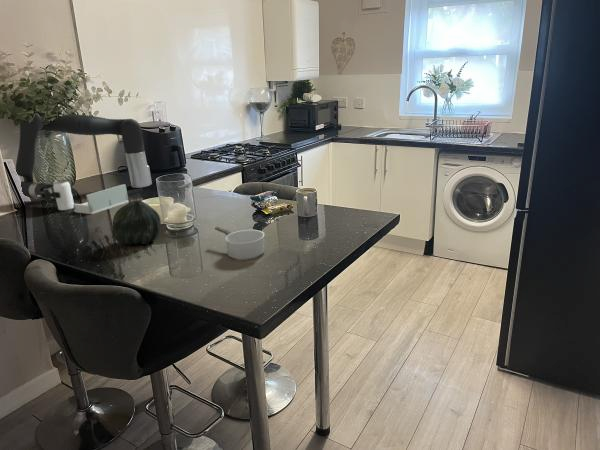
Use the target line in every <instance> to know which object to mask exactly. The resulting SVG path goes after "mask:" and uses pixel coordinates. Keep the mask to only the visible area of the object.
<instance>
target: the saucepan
mask: <svg viewBox="0 0 600 450" xmlns="http://www.w3.org/2000/svg"><path fill="white" fill-rule="evenodd" d="M214 230H216V231H218V232H220V233H223V234H225V236H224V241H225V244H226V251H227V256H229V257H230V258H232V259H236V260H239V261H241V260H242V261H243V260H251V259H252V260H253V259H255V258H257V257H259V256H261V255H263V254H264V252H265V251H266V247H265V238H264V237H265V235H266V234H265V232H263V231H262V230H257V229H244V230H243V229H242V230H238V231H234V232H231V231H230V230H227V229H224V228H222V227H219V226H217V227H214Z"/></svg>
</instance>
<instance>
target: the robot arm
mask: <svg viewBox="0 0 600 450" xmlns="http://www.w3.org/2000/svg"><path fill="white" fill-rule="evenodd" d="M35 115H36V116H35V118H34V120H33V121H32V122H30V123H27V122H25V123H24V122H22V121H20V120H19V144H18V145H19V146H18V150H17V151H18V152H17V156H16V161H15V167H14V170H15V169H16V172H17V174H18V175H17V174H16V175H17V176H19V177H22V178H23V181H21V180H20V181H21V187H22V192H23V194H24V195H25V196H27V197H26V198H31V199H37V200H43V201H50V200H53V199H54V198H55V199H56V198H60V193H59V192H54V188H53V185H54V183H53V184H52V183H50V182H40V181H39V182H36V181H34V173H33V172H34V167H35V161H36V141H37V137H38V134H39V132H42V131H41V130H46V131H45V132H52V131H53V132H62V133H65V134H66V133H67V134H71V135H72V134H73V135H80V136H81V135H82V136H83V135H84V136H102V135H103V136H104V135H115V136H121V137H122V143H123V148H124V155H125V158H126V164H127V165H126V166H127V169H128V174H129V180H130V184H131V188H135V189H138V188H145V187H149V186H151V185H152V184H153V181H152V177H151V170H150V166H149V165H148V161H147V157H146V151H145V143H144V138H143V132H142V127H141V125H140V124H139V123H140V122H138V120H135V119H132V118H115V119H114V118H106V117H101V116H95V115H94V116H93V115H86V114H85V115H84V114H62V115H63V116H62V117H61V119H54V120H53V121H51V122H50V123H48V124H46V125H44V123H43V120H42V118H41V116H40V115H39V114H38V113H35ZM71 192H72V195H74V193H75V191H74V189H73V188H71Z"/></svg>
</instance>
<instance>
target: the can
mask: <svg viewBox="0 0 600 450" xmlns="http://www.w3.org/2000/svg"><path fill="white" fill-rule="evenodd" d="M53 188H54V192H59V193H60V198H55V200H56V201H55V202H56V205H57V209H58V211H62V212H63V211H69V210H74V207H73V204H75V201H74V198H73V194H72V192H71V189H72V186H71V183H70V182H69V180H68V179H67V180H66V179H62V180H57V181H53Z"/></svg>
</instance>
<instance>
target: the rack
mask: <svg viewBox="0 0 600 450" xmlns="http://www.w3.org/2000/svg"><path fill="white" fill-rule="evenodd" d="M85 196H86V200H87V201H86V202H83V203H74V204H73V207H74V208H73V210H74V213H79V214H86V215H94V214H97V213H100V212H103V211H106V210H109V209H111V208H112V209H113V208H115V207H118V206H121V205H125V204H128V203H130V200H129V196H128V191H127V186H126V183H124V184H119V185H116V186H113V187H112V186H111V187H109V188H107V189H102V190H99V191H95V192H92V193H88V194H86V195H85Z"/></svg>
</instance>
